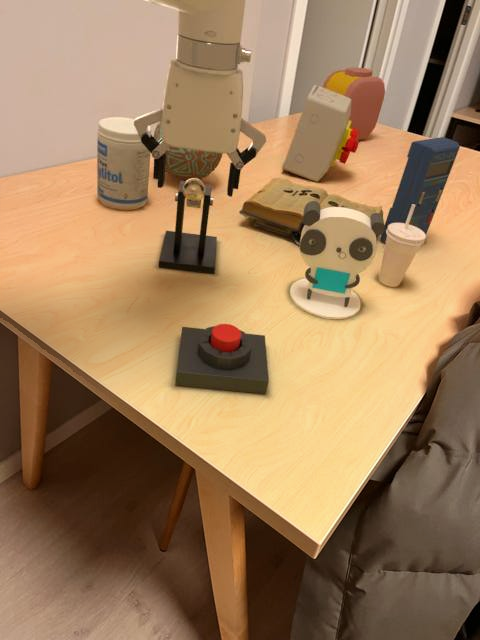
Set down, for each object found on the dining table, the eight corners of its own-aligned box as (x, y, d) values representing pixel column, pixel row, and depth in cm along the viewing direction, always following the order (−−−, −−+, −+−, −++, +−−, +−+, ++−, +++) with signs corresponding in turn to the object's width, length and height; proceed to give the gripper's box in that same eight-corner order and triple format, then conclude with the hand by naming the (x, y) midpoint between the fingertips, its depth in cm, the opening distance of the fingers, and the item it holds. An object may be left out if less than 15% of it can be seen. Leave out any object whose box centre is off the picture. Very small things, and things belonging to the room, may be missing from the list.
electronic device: (398, 251, 102) (435, 149, 91) (377, 240, 105) (410, 139, 94) (425, 242, 108) (463, 144, 96) (405, 231, 111) (439, 135, 99)
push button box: (175, 385, 63) (177, 360, 61) (181, 339, 70) (183, 315, 68) (265, 394, 64) (271, 369, 62) (262, 348, 71) (267, 324, 69)
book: (378, 232, 108) (387, 205, 105) (362, 265, 95) (371, 236, 92) (265, 198, 114) (270, 172, 111) (236, 225, 101) (240, 196, 98)
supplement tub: (87, 203, 100) (86, 124, 91) (112, 187, 107) (113, 112, 99) (134, 216, 98) (136, 136, 90) (156, 199, 106) (160, 124, 97)
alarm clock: (348, 129, 172) (364, 64, 161) (374, 140, 166) (393, 73, 154) (309, 133, 161) (324, 64, 150) (336, 145, 155) (354, 74, 144)
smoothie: (393, 270, 95) (419, 197, 87) (414, 289, 91) (444, 214, 83) (363, 272, 93) (388, 198, 85) (384, 292, 88) (411, 215, 80)
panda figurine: (282, 309, 80) (303, 218, 71) (288, 273, 89) (307, 188, 80) (361, 325, 79) (391, 236, 71) (358, 287, 89) (385, 204, 80)
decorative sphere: (137, 171, 116) (140, 100, 108) (191, 162, 125) (198, 96, 117) (177, 197, 108) (184, 122, 100) (232, 186, 117) (242, 117, 109)
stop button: (209, 351, 64) (211, 339, 63) (210, 333, 66) (212, 322, 65) (239, 354, 64) (241, 343, 63) (239, 336, 67) (241, 325, 66)
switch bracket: (214, 274, 85) (223, 206, 79) (158, 267, 85) (162, 198, 78) (215, 242, 94) (224, 179, 88) (165, 236, 94) (169, 171, 87)
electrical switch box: (337, 196, 127) (373, 114, 116) (279, 173, 128) (309, 90, 116) (343, 177, 139) (376, 101, 127) (290, 156, 140) (318, 79, 128)
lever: (204, 201, 72) (206, 178, 72) (181, 198, 72) (183, 174, 72) (203, 211, 85) (205, 191, 85) (183, 208, 85) (185, 188, 85)
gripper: (275, 59, 68) (255, 186, 78) (140, 39, 66) (137, 171, 76) (280, 71, 62) (257, 207, 72) (130, 49, 60) (129, 191, 70)
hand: (195, 188), depth 74 cm, fingers open, 9 cm apart
